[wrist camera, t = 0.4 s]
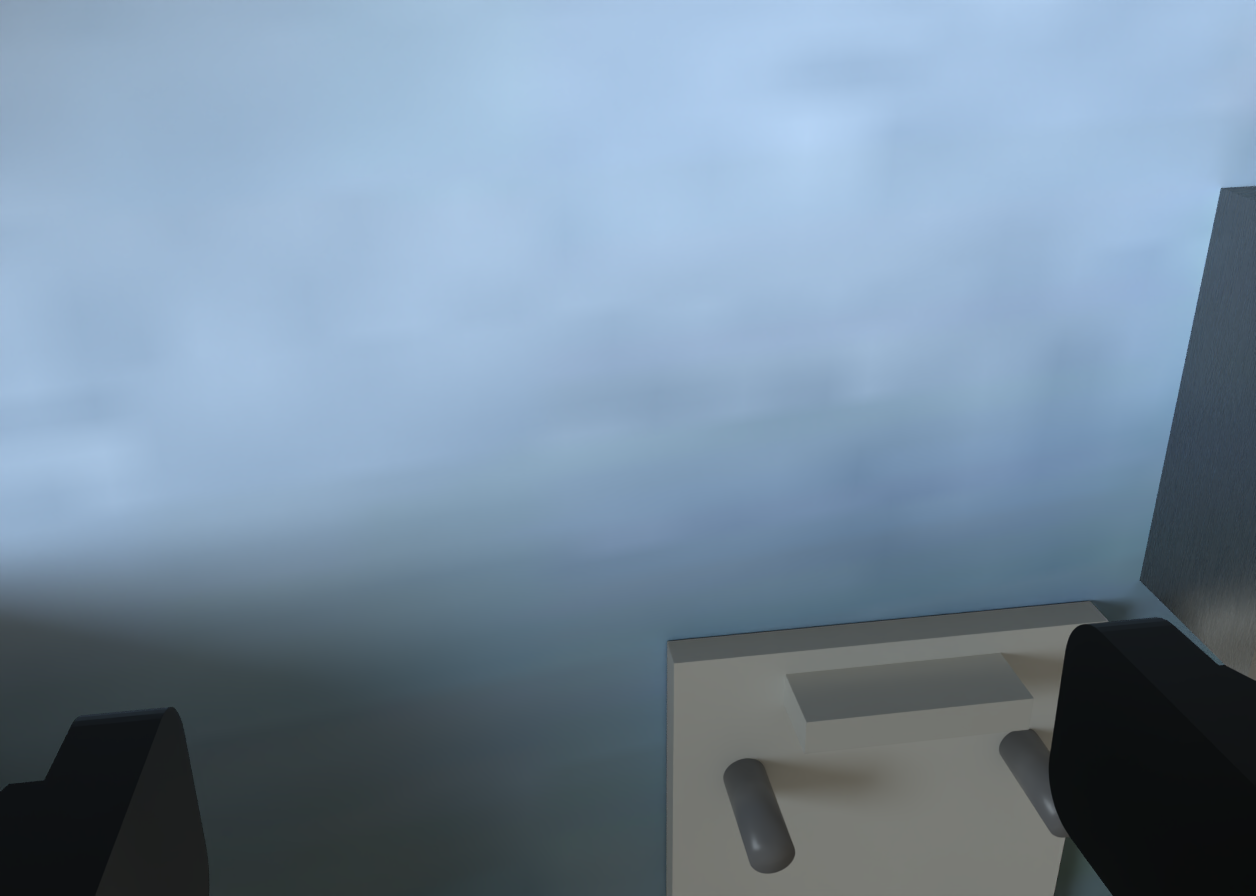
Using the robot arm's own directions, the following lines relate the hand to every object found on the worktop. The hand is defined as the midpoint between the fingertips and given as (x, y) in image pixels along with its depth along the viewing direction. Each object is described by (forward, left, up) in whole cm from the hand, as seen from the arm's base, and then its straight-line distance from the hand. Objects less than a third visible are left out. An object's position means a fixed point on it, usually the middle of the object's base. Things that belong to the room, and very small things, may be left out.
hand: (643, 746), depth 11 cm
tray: (+19, +9, -17) cm, 27 cm away
